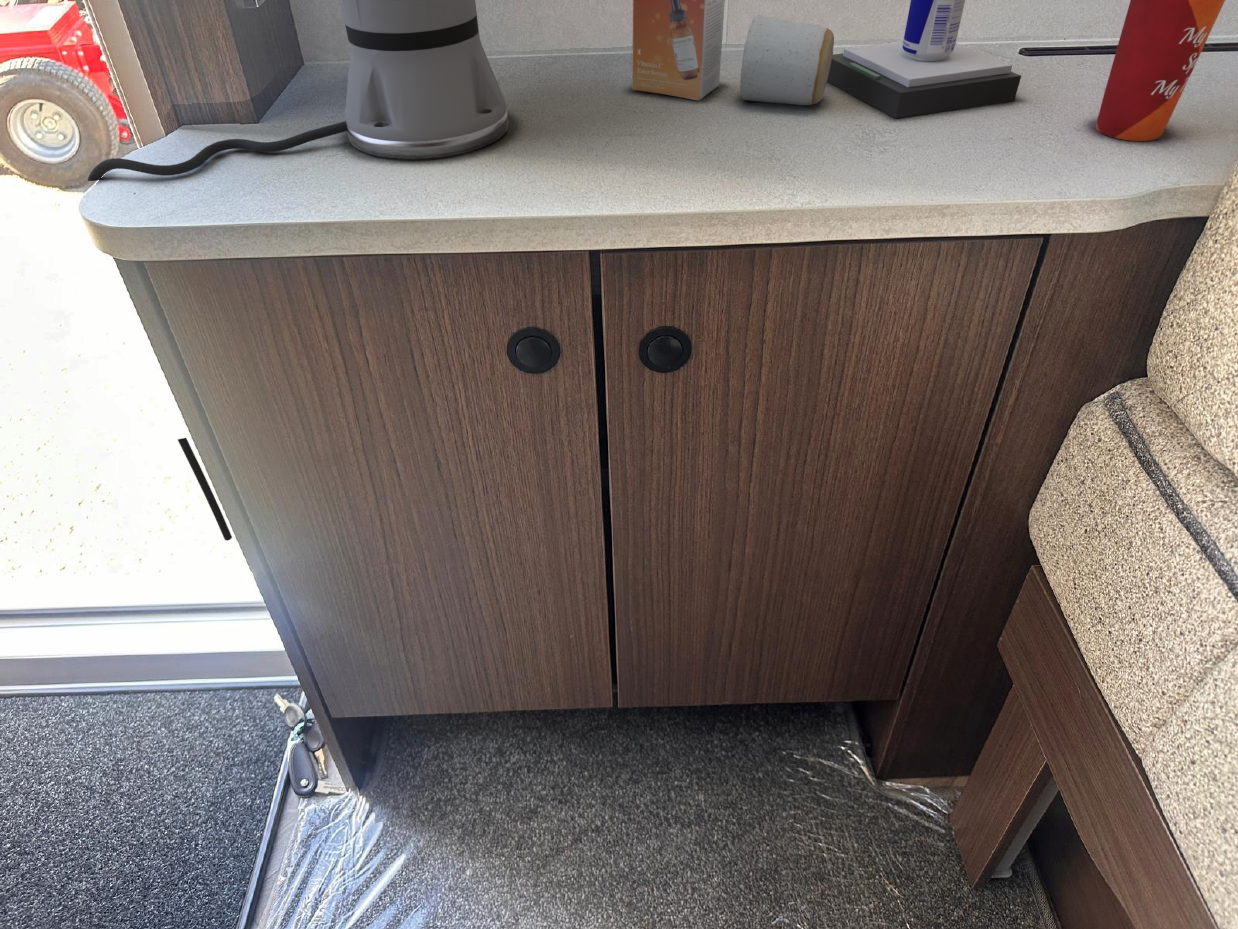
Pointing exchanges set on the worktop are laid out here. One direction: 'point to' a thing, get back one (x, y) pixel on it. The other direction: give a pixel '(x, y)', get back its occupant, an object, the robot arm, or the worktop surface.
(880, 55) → the scale
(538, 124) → the worktop surface
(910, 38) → the beverage can
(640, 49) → the small box
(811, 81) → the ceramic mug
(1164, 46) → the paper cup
